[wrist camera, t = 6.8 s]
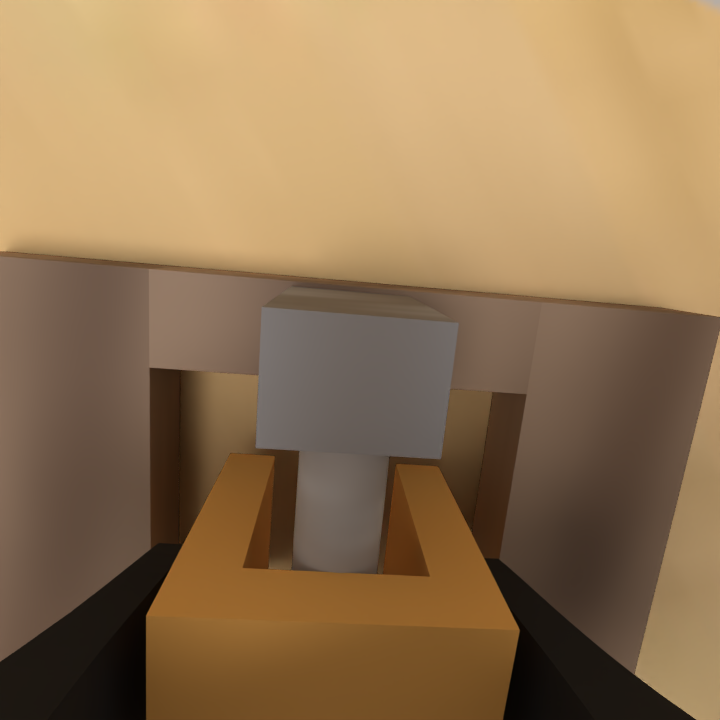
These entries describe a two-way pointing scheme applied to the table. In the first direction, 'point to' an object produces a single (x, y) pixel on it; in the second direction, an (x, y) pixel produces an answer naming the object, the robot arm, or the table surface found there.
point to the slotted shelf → (196, 319)
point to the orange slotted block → (328, 617)
